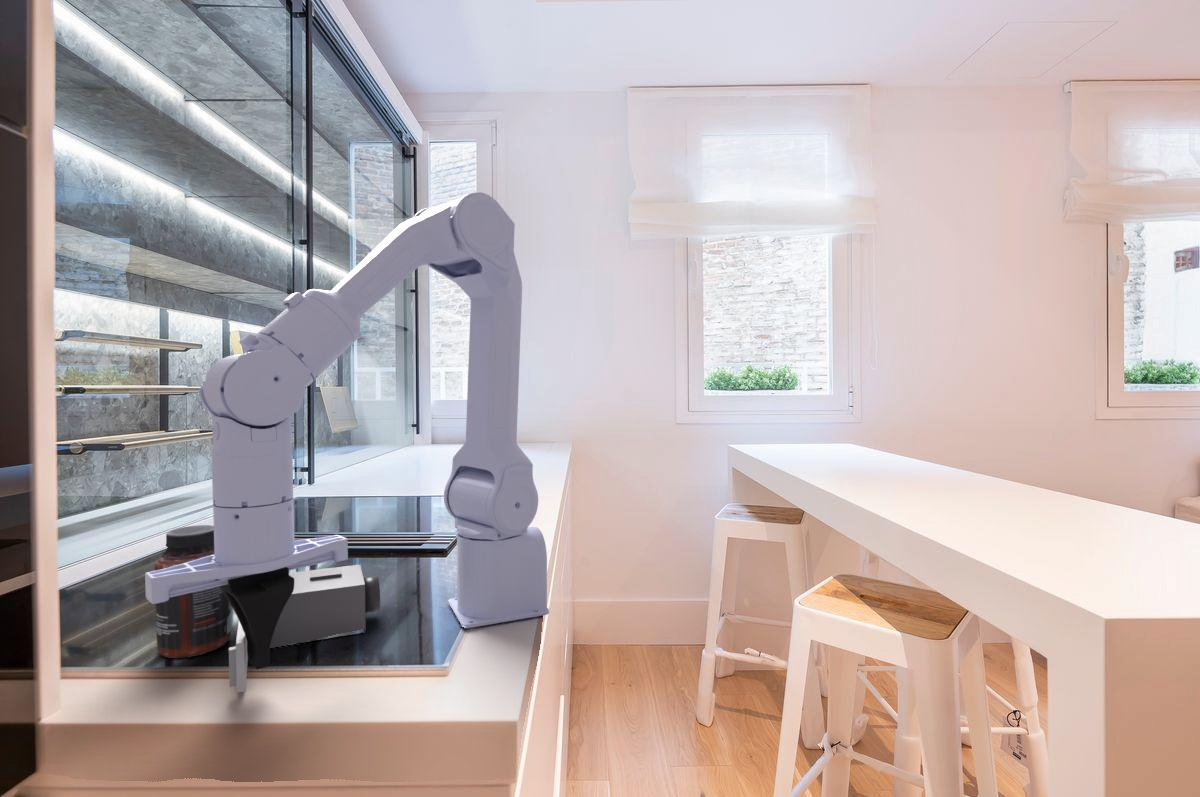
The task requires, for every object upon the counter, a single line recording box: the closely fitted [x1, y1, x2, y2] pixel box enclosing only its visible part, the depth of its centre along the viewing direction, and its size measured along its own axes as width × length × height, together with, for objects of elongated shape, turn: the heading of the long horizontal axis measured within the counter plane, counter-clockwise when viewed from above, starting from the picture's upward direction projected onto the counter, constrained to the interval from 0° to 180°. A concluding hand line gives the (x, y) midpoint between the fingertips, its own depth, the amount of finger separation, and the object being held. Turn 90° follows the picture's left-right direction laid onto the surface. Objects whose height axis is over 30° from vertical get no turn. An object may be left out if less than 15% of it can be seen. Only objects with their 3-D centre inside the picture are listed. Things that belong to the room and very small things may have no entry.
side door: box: [228, 620, 249, 693], centre depth 53 cm, size 8×1×4 cm, turn 28°
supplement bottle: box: [154, 524, 232, 659], centre depth 59 cm, size 6×6×11 cm
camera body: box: [270, 564, 381, 649], centre depth 63 cm, size 13×7×6 cm, turn 115°
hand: (258, 664), depth 51 cm, fingers closed
